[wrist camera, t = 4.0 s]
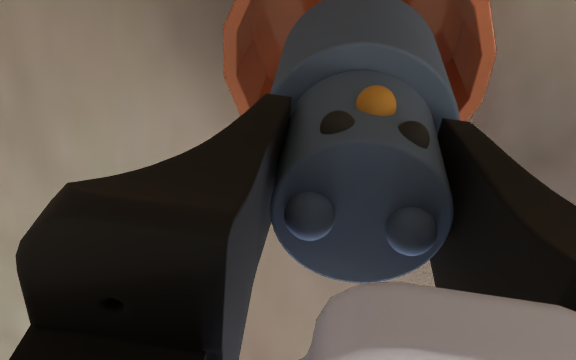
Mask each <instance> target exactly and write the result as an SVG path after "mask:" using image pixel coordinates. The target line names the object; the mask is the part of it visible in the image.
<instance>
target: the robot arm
mask: <svg viewBox="0 0 576 360" xmlns="http://www.w3.org/2000/svg"><path fill="white" fill-rule="evenodd" d="M291 100H292V97H289V96H282V95H274V94H267V93H266V94H265V95H264V96H262V97H261V98H260V99H259V100H258V101H257V102H256V103H255V104H254V105H253V106H251V107H250V108H249V109H248V110H247V111H246V112H245V113H244V114H242V115H241V116H240V117H239V118H238V119H236V120H235V121H234V122H233V123H231V124H230V125H229V126H228V127H226V128H225V129H224V130H222V131H221V132H219V133H218V134H216V135H215V136H213V137H212V138H211V139H209V140H207V141H206V142H204V143H202V144H200V145H198V146H196V147H194V148H192V149H190V150H189V151H187V152H184V153H182V154H180V155H177V156H175V157H172V158H170V159H167V160H165V161H162V162H159V163H157V164H154V165H151V166H148V167H145V168H141V169H138V170H135V171H131V172H127V173H123V174H118V175H114V176H109V177H103V178H97V179H91V180H85V181H78V182H71V183H67V184H66V185H65V186H64V187H63V188H62V189H61V190H60V191H59V193H58V194H57V195H56V196H55V197H54V198H53V199H52V200H51V201H50V203H49V204H48V205H47V206H46V208H45V209H44V210H43V212H42V213H41V214H40V216H39V217H38V218H37V220H36V221H35V222H34V224H33V225H32V226H31V227H30V229H29V230H28V231H27V233H26V234H25V235H24V237H23V238H22V239H21V241H20V244H19V247H18V250H17V253H16V265H17V273H18V277H19V281H20V285H21V289H22V292H23V296H24V300H25V304H26V308H27V312H28V316H29V320H30V323H31V325H30V327H29V329H28V330H27V332H26V333H25V335H24V337H23V338H22V340H21V341H20V343H19V345H18V346H17V348H16V349H15V351H14V353H13V354H12V356H11V357H10V359H9V360H239V355H240V350H241V344H242V339H243V333H244V328H245V323H246V317H247V312H248V307H249V302H250V296H251V291H252V286H253V282H254V278H255V274H256V270H257V266H258V263H259V260H260V257H261V254H262V250H263V247H264V244H265V241H266V237H267V234H268V231H269V228H270V225H271V215H270V202H271V197H272V192H273V188H274V183H275V178H276V174H277V169H278V164H279V160H280V156H281V152H282V148H283V145H284V141H285V137H286V132H287V127H288V122H289V117H290V108H291ZM437 137H438V141H439V145H440V149H441V153H442V157H443V161H444V165H445V169H446V173H447V177H448V181H449V185H450V189H451V193H452V198H453V203H454V216H453V222H452V226H451V230H450V232H449V234H448V236H447V238H446V240H445V242H444V244H443V245H442V247H441V248H440V249H439V250H438V252H437V253H436V254H435V255H434V256H433V257H432V258H431V259H430V262H431V267H432V272H433V276H434V281H435V286H436V287H431V286H424V285H417V284H410V283H403V282H375V283H360V284H358V285H356V286H354V287H352V288H349V289H347V290H345V291H343V292H341V293H339V294H337V295H335V296H333V297H330V299H329V300H328V302H327V304H326V305H325V307H324V308H323V310H322V311H321V313H320V314H319V316H318V318H317V319H316V324H315V329H314V333H313V338H312V343H311V346H310V349H309V351H308V353H307V355H306V356H305V357H304V358H302V359H300V360H576V206H575V205H574V204H572V203H571V202H569V201H567V200H566V199H564V198H563V197H561V196H560V195H558V194H557V193H555V192H554V191H552V190H551V189H550V188H548V187H547V186H546V185H544V184H543V183H542V182H540V181H539V180H538V179H536V178H535V177H534V176H533V175H531V174H530V173H529V172H527V171H526V170H525V169H524V168H523V167H521V166H520V165H519V164H518V163H517V162H515V161H514V160H513V159H512V158H511V157H510V156H508V155H507V154H506V153H505V152H504V151H503V150H502V149H501V148H499V147H498V146H497V145H496V144H495V143H494V142H493V141H492V140H490V139H489V138H488V137H487V136H486V135H485V134H484V133H483V132H481V131H480V130H479V129H478V128H477V127H475V126H474V125H473V124H471V123H470V122H467V121H460V120H453V119H446V118H442V121H441V125H440V128H439V131H438V134H437Z"/></svg>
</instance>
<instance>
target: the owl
mask: <svg viewBox="0 0 576 360" xmlns="http://www.w3.org/2000/svg"><path fill="white" fill-rule="evenodd" d="M270 94H274V95H282V96H289V97H292V100H291V108H290V117H289V122H288V127H287V132H286V137H285V141H284V145H283V148H282V152H281V156H280V160H279V164H278V169H277V174H276V178H275V183H274V188H273V192H272V197H271V202H270V215H271V222H272V225H273V229H274V231H275V233H276V236H277V238H278V240H279V241H280V243H281V244H282V246H283V247H284V249H285V250H286V251H287V252H288V253H289V254H290V256H292V257H293V258H294V259H295V260H296V261H297V262H299V263H300V264H301V265H303V266H304V267H306V268H308V269H309V270H311V271H313V272H315V273H317V274H320V275H322V276H325V277H328V278H331V279H335V280H340V281H345V282H354V283H370V282H380V281H385V280H390V279H393V278H397V277H400V276H402V275H405V274H407V273H410V272H412V271H413V270H415V269H417V268H419V267H420V266H422V265H423V264H425V263H426V262H427V261H428V260H430V259H431V258H432V257H433V256H434V255H435V254H436V253H437V252H438V250H439V249H440V248H441V247H442V245H443V244H444V242H445V240H446V238H447V236H448V234H449V232H450V230H451V226H452V222H453V216H454V203H453V198H452V193H451V189H450V185H449V181H448V177H447V173H446V169H445V165H444V161H443V157H442V153H441V149H440V145H439V141H438V137H437V134H438V131H439V128H440V125H441V121H442V118H446V119H453V120H460V115H459V111H458V106H457V102H456V100H455V97H454V94H453V91H452V88H451V85H450V82H449V79H448V76H447V73H446V70H445V67H444V64H443V61H442V58H441V55H440V52H439V49H438V46H437V43H436V41H435V38H434V35H433V33H432V31H431V29H430V28H429V26H428V24H427V23H426V21H425V20H424V19H423V18H422V16H421V15H420V14H419V13H418V12H417V11H416V10H415V9H413V8H412V7H411V6H409V5H408V4H407V3H405V2H403V1H401V0H323V1H321V2H319V3H317V4H316V5H314V6H313V7H312V8H310V9H309V10H308V11H307V12H306V13H305V14H303V15H302V16H301V18H300V19H299V20H298V21H297V22H296V24H295V25H294V27H293V28H292V30H291V31H290V33H289V35H288V37H287V39H286V42H285V45H284V48H283V51H282V55H281V58H280V61H279V65H278V68H277V72H276V75H275V78H274V82H273V85H272V88H271V92H270Z"/></svg>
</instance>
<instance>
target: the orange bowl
mask: <svg viewBox="0 0 576 360" xmlns="http://www.w3.org/2000/svg"><path fill="white" fill-rule="evenodd" d="M321 1H323V0H234V3H233V5H232V7H231V10H230V12H229V14H228V17H227V19H226V22H225V24H224V28H223V50H224V76H225V77H224V78H225V81H226V83H227V85H228V88H229V90H230V92H231V95H232V97H233V99H234V101H235V104H236V106H237V108H238V111H239V113H240V115H242V114H244V113H245V112H246V111H247V110H248V109H249V108H250V107H251V106H253V105H254V104H255V103H256V102H257V101H258V100H259V99H260V98H261V97H262V96H264V95H265V94H266V93H267V94H270V92H271V88H272V85H273V82H274V78H275V75H276V72H277V68H278V65H279V61H280V58H281V55H282V51H283V48H284V45H285V42H286V39H287V37H288V35H289V33H290V31H291V30H292V28H293V27H294V25H295V24H296V22H297V21H298V20H299V19H300V18H301V16H302V15H303V14H305V13H306V12H307V11H308V10H309V9H310V8H312V7H313V6H314V5H316V4H317V3H319V2H321ZM401 1H403V2H405V3H407V4H408V5H409V6H411V7H412V8H413V9H415V10H416V11H417V12H418V13H419V14H420V15H421V16H422V18H423V19H424V20H425V21H426V23H427V24H428V26H429V28H430V29H431V31H432V33H433V35H434V38H435V41H436V43H437V46H438V49H439V52H440V55H441V58H442V61H443V64H444V67H445V70H446V73H447V76H448V79H449V82H450V85H451V88H452V91H453V94H454V97H455V100H456V102H457V106H458V111H459V115H460V121H468V119H469V118H470V117H471V116H472V114H473V113H474V112H475V111H476V109H477V108H478V107H479V105H480V104H481V102H482V101H483V98H484V94H485V91H486V88H487V84H488V81H489V77H490V74H491V71H492V67H493V64H494V61H495V57H496V51H497V50H496V42H495V35H494V28H493V20H492V13H491V6H490V1H489V0H401Z"/></svg>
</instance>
